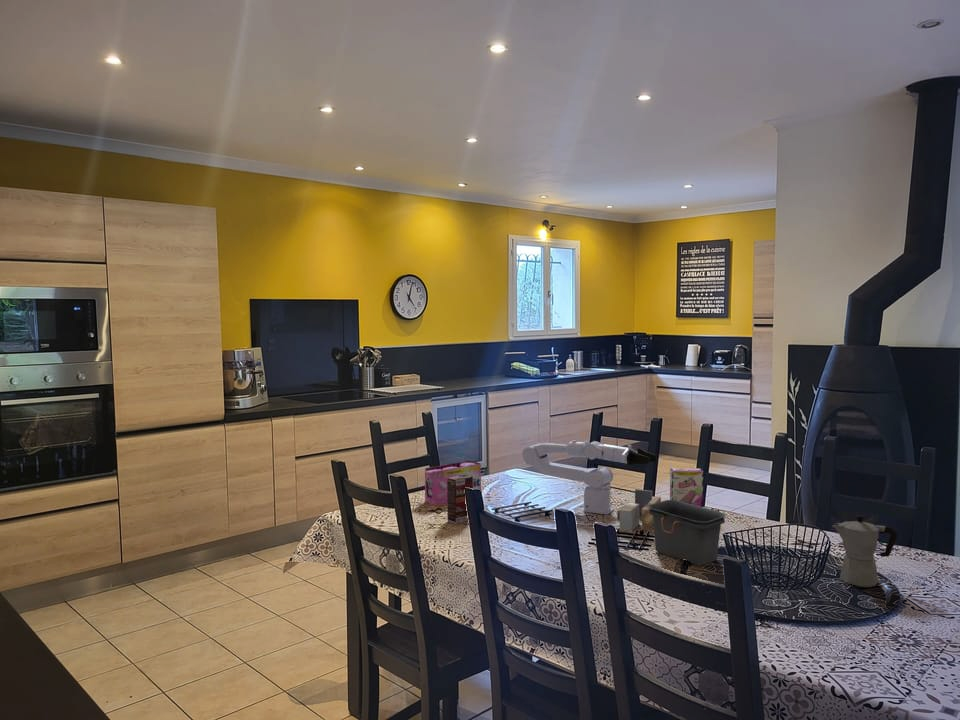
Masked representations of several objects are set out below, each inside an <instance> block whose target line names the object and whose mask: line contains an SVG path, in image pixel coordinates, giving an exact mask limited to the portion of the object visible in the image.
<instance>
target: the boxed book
mask: <svg viewBox="0 0 960 720" xmlns="http://www.w3.org/2000/svg"><path fill="white" fill-rule="evenodd" d="M620 508H621V507H620ZM620 508H619V509H620ZM638 524H640V515H639V504H635V502H627V503H626V504H625V505H623V508H621V509H620V519H619V531H622V530H623V531H624V532H629V531H631V532H632V531H633V530H635V529H636V528H637V527H638V526H639V525H638ZM637 525H638V526H637ZM636 526H637V527H636ZM635 527H636V528H635ZM634 528H635V529H634ZM623 531H622V532H623Z"/></svg>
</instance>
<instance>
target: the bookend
mask: <svg viewBox="0 0 960 720" xmlns="http://www.w3.org/2000/svg"><path fill="white" fill-rule="evenodd" d="M652 499H653V490H647V489H639V488H637V489H636V488H635V489H634V504H639V514H642V508H643V507H644V506H646V505H647V504H648V503H649V502H650V501H651V500H652Z"/></svg>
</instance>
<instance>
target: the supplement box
mask: <svg viewBox="0 0 960 720" xmlns="http://www.w3.org/2000/svg"><path fill="white" fill-rule="evenodd" d="M465 487H470V488H473V477H472V476H469V475H461V476H456V477H451V478H447V503H446V504H447V522H448V523H450V524H454V525H457V524H461V523H462V524H463V523H466V522H468V518H467V511H466V504H465V493H464V489H465Z"/></svg>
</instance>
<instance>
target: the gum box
mask: <svg viewBox="0 0 960 720" xmlns="http://www.w3.org/2000/svg"><path fill="white" fill-rule="evenodd" d="M481 464H482V463H481V462H477V461H473V460H465V461H460V462H454V463H448V464H442V465H436V466H431V467H425V468H424V502H426V503H429V505H432V506H438V505H444V504H447V478H451V477H456V476H461V475H469V476H472V477H473V488H476V489H480V490H481V491H482V480H481V479H482V476H481V475H482V468H481V467H482V465H481Z"/></svg>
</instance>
